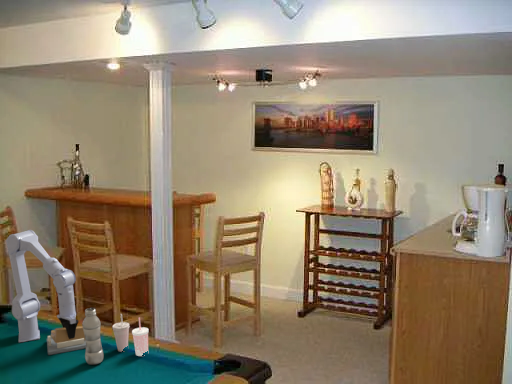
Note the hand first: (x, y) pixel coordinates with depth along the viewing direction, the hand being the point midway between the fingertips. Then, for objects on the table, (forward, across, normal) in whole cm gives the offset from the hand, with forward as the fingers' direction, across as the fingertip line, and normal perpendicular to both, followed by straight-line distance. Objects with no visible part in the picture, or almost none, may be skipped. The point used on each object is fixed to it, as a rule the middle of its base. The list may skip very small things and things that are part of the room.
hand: (69, 336), depth 222 cm
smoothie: (+4, +16, +15) cm, 23 cm away
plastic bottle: (+4, +21, +3) cm, 22 cm away
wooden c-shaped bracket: (+2, -3, 0) cm, 3 cm away
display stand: (+4, -2, 0) cm, 4 cm away
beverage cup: (+4, +24, +20) cm, 32 cm away
